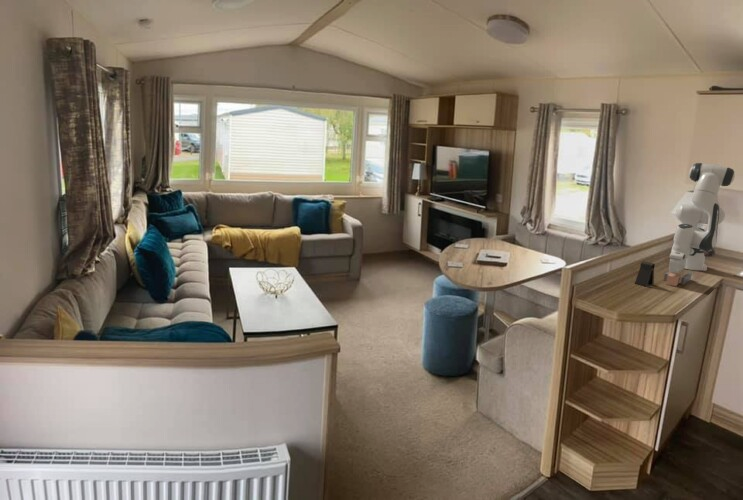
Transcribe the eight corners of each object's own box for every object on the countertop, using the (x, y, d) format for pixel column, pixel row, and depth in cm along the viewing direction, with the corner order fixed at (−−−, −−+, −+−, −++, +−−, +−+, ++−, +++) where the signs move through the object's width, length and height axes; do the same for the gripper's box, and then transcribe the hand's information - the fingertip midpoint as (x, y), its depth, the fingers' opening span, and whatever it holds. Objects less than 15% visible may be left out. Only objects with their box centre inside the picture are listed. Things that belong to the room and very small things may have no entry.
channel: (671, 275, 323) (672, 269, 322) (690, 279, 316) (691, 273, 315) (663, 280, 311) (664, 273, 310) (683, 284, 304) (684, 277, 303)
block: (668, 281, 309) (670, 272, 308) (678, 283, 307) (680, 274, 305) (665, 284, 303) (667, 275, 302) (676, 286, 300) (677, 277, 299)
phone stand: (645, 286, 296) (649, 264, 293) (634, 283, 300) (638, 262, 298) (653, 284, 301) (657, 263, 298) (642, 281, 306) (646, 260, 303)
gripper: (678, 250, 315) (674, 273, 319) (668, 255, 300) (664, 279, 303) (691, 252, 311) (686, 276, 315) (681, 257, 296) (677, 282, 299)
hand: (675, 278), depth 309 cm, fingers closed
